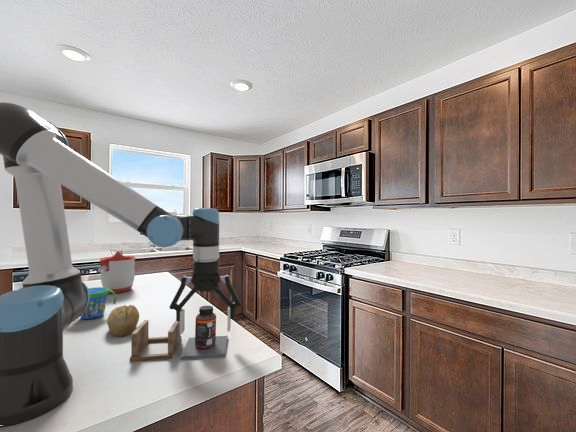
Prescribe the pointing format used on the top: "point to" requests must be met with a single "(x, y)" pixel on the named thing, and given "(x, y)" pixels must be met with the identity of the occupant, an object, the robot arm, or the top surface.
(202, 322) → the supplement bottle
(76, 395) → the top surface
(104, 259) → the citrus juicer
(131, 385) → the top surface
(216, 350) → the coaster
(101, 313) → the snack cup
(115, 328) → the bread roll
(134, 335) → the rack
